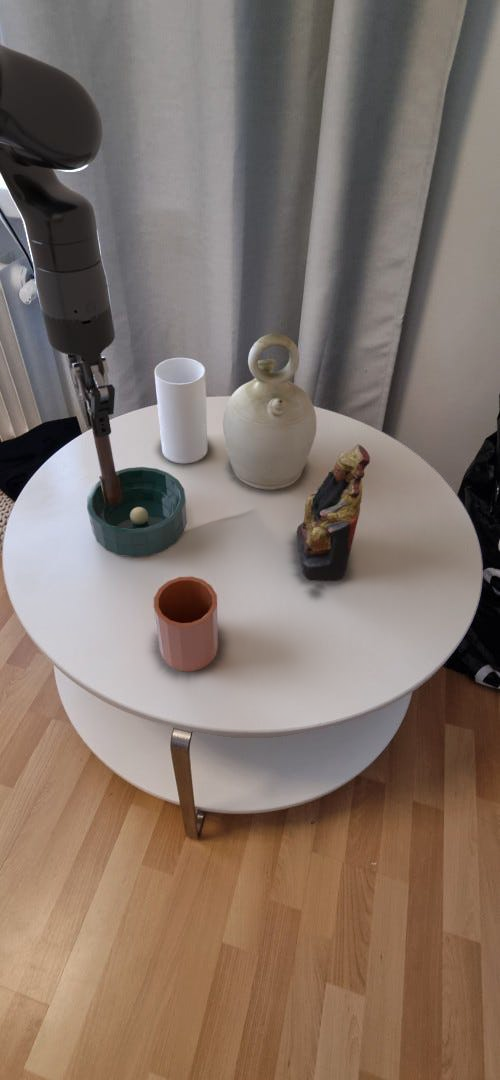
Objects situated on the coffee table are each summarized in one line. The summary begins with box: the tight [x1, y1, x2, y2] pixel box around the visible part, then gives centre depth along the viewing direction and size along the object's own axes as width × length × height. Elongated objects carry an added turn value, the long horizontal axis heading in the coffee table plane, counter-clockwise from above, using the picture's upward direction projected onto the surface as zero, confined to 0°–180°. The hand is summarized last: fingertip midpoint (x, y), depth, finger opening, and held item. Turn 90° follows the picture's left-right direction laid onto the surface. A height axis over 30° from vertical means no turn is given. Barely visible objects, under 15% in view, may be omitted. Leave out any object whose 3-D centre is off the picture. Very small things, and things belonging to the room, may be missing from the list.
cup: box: [154, 357, 209, 464], centre depth 101 cm, size 8×8×16 cm
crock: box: [153, 576, 219, 672], centre depth 74 cm, size 8×8×10 cm
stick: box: [89, 414, 123, 506], centre depth 80 cm, size 3×2×18 cm
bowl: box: [86, 466, 188, 558], centre depth 91 cm, size 15×15×6 cm
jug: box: [222, 332, 317, 491], centre depth 95 cm, size 15×16×25 cm
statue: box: [296, 444, 371, 593], centre depth 82 cm, size 12×8×20 cm, turn 178°
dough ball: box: [130, 507, 148, 525], centre depth 91 cm, size 3×3×3 cm
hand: (99, 429), depth 77 cm, fingers closed on stick, 2 cm apart
